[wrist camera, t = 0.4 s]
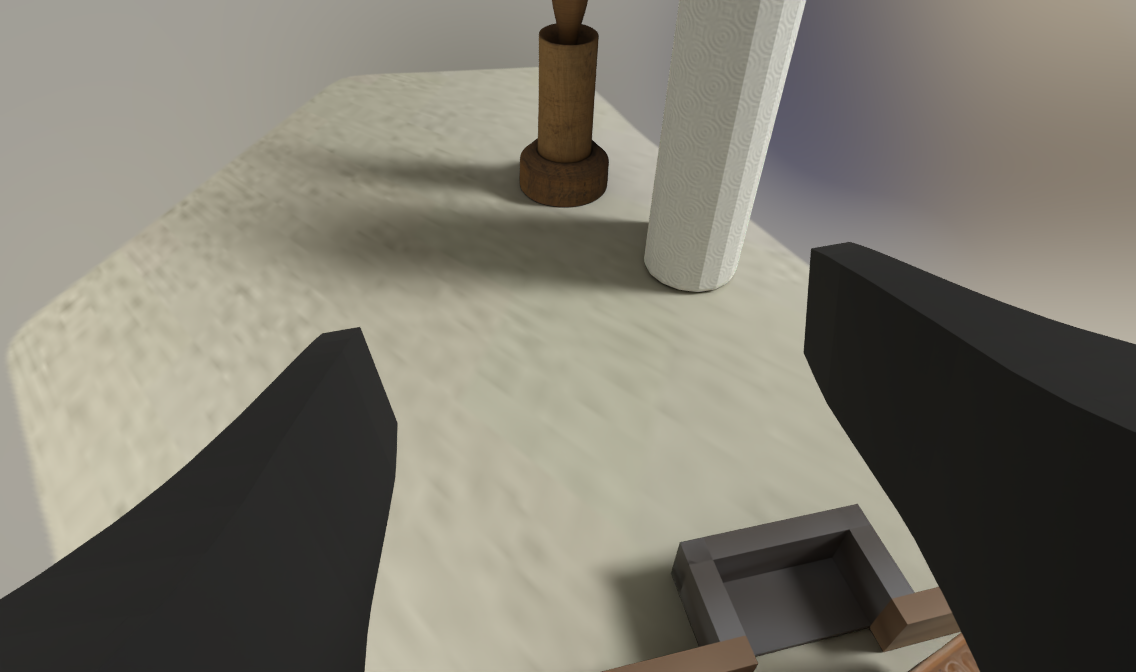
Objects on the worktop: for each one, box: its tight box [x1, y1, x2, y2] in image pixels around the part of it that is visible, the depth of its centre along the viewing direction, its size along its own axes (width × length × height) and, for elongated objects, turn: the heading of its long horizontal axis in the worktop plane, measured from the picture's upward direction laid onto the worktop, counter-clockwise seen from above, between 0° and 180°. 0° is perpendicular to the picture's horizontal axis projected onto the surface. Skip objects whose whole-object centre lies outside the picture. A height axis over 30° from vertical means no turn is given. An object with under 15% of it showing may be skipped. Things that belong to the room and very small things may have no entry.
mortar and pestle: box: [520, 0, 609, 207], centre depth 45 cm, size 7×6×18 cm
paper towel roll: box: [644, 0, 806, 292], centre depth 37 cm, size 7×6×21 cm
